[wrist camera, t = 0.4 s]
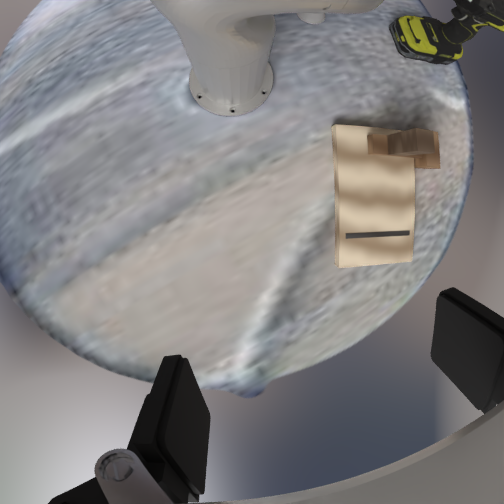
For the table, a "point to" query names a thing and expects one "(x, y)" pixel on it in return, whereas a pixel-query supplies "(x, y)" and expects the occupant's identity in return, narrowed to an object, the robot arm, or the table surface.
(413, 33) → the power drill
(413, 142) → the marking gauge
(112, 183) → the table surface
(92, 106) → the table surface
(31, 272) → the table surface
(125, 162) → the table surface
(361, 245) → the birch board
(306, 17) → the chalice
